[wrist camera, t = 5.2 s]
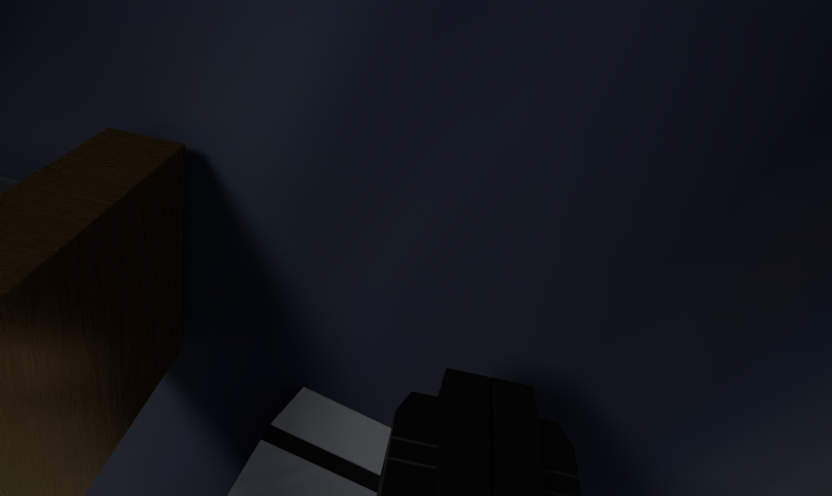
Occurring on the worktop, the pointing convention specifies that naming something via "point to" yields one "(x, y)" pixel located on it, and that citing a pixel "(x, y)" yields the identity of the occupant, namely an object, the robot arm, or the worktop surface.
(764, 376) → the worktop surface
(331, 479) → the security device
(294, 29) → the worktop surface
